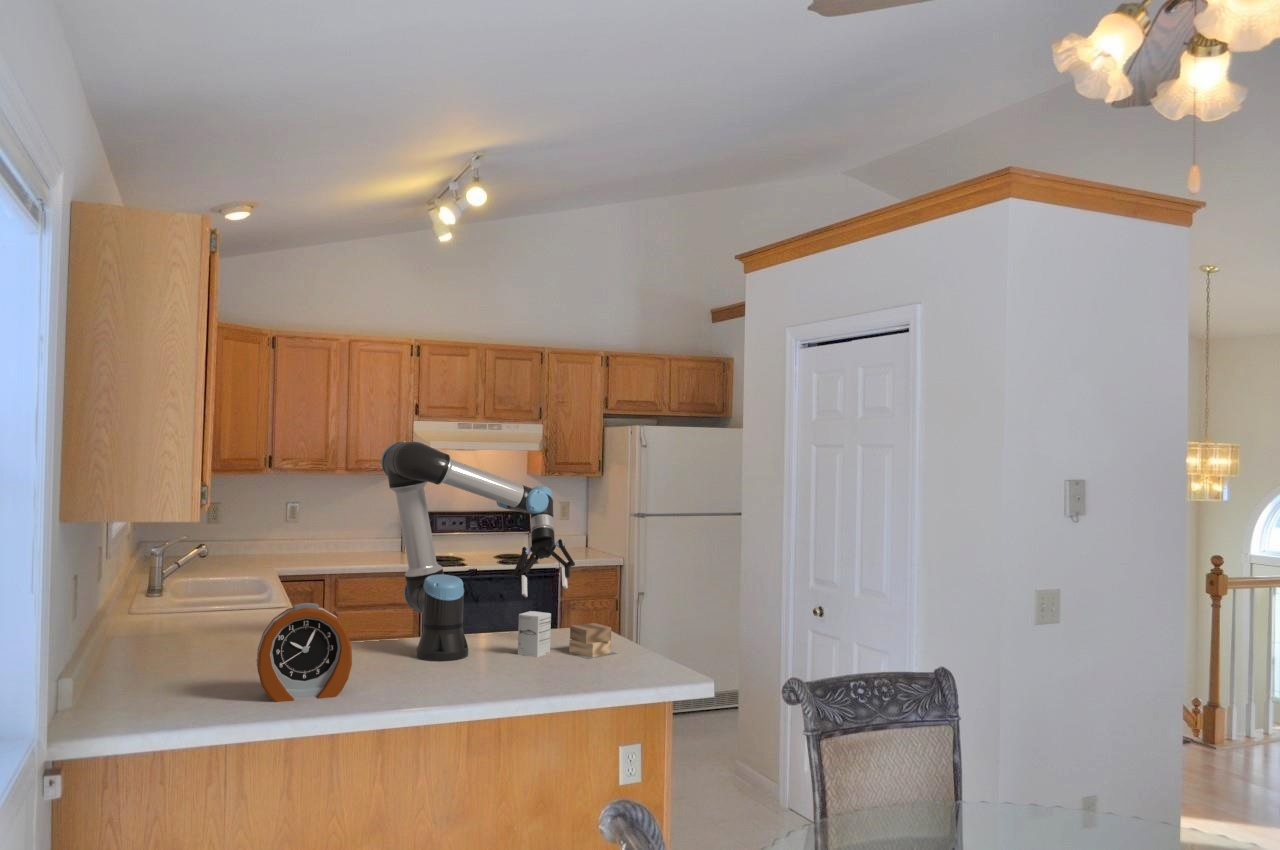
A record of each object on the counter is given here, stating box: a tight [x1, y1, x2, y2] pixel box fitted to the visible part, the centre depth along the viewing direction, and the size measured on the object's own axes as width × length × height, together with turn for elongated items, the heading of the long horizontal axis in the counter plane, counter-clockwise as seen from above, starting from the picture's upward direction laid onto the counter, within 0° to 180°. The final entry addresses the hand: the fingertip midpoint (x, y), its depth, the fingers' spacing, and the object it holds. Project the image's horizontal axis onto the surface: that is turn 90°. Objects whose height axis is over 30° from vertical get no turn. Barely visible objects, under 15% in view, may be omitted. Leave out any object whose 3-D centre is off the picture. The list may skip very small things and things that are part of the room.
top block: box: [569, 622, 612, 644], centre depth 294 cm, size 9×9×4 cm
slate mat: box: [562, 651, 619, 660], centre depth 294 cm, size 12×12×1 cm
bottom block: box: [568, 639, 612, 657], centre depth 294 cm, size 9×9×4 cm
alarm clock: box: [256, 602, 353, 703], centre depth 242 cm, size 22×10×23 cm, turn 114°
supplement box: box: [517, 610, 552, 658], centre depth 292 cm, size 7×7×13 cm
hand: (544, 591), depth 305 cm, fingers open, 13 cm apart
